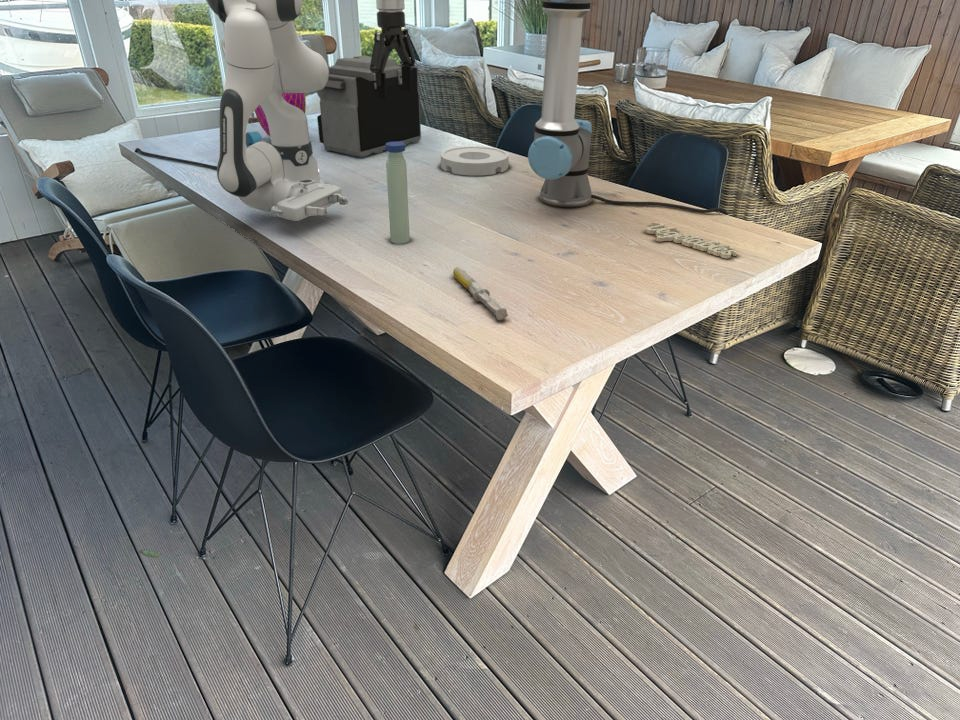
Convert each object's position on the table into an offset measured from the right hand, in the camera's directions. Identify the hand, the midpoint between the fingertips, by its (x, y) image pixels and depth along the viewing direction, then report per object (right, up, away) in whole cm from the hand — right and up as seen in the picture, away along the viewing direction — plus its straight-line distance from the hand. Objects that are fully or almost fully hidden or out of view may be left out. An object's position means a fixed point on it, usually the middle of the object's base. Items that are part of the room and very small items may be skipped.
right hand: (394, 94), depth 195 cm
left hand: (-13, -36, -19) cm, 43 cm away
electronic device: (-17, +5, +63) cm, 65 cm away
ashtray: (+22, -9, +39) cm, 46 cm away
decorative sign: (+76, -46, -21) cm, 92 cm away
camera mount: (-52, -12, +34) cm, 63 cm away
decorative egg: (-51, +9, +70) cm, 87 cm away
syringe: (+24, -62, -50) cm, 83 cm away
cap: (+4, -25, -34) cm, 42 cm away
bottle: (+4, -45, -22) cm, 50 cm away
